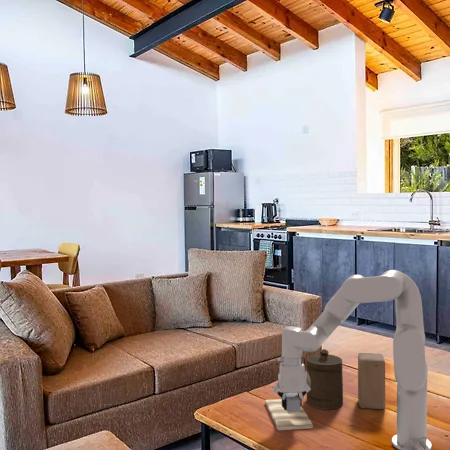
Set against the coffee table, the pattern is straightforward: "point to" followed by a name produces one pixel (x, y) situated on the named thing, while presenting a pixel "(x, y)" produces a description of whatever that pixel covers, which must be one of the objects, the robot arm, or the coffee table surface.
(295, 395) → the block
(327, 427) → the coffee table surface
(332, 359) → the wooden container
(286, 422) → the board
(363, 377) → the wooden block
